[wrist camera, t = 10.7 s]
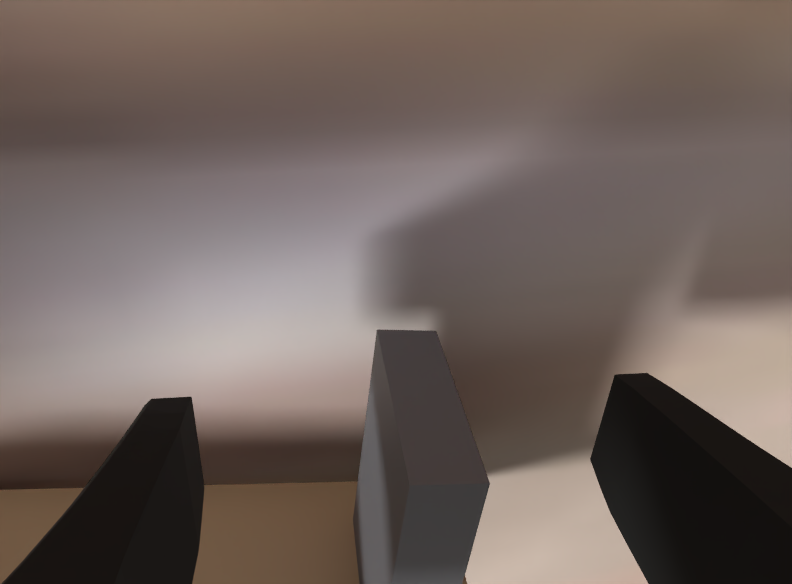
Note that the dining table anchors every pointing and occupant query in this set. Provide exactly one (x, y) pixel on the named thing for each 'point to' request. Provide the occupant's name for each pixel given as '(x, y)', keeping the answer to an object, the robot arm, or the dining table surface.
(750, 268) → the dining table surface
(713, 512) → the robot arm
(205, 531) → the front flap
